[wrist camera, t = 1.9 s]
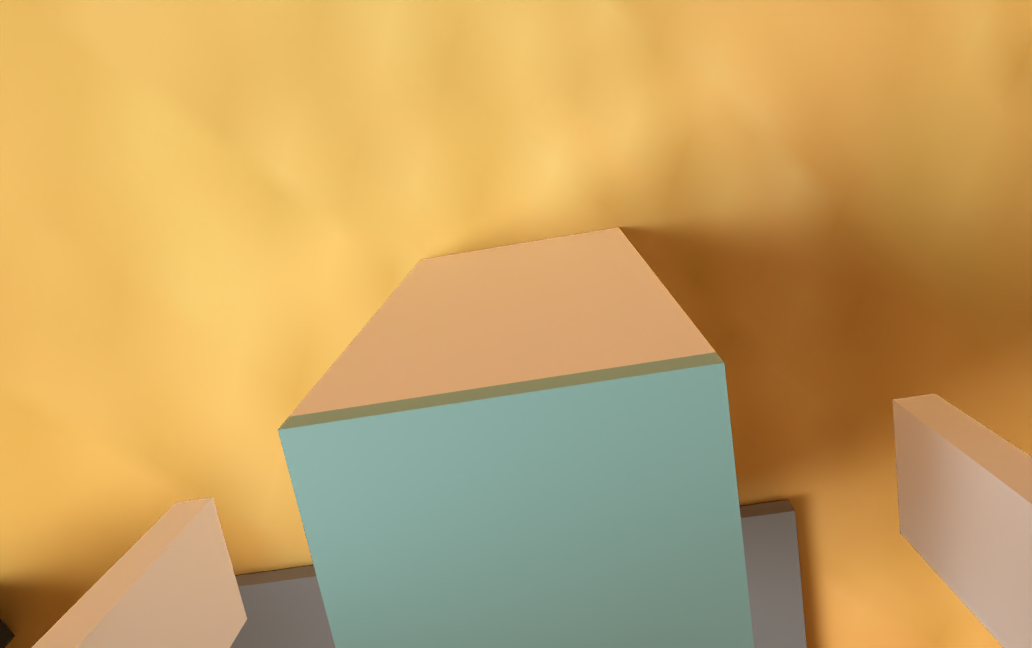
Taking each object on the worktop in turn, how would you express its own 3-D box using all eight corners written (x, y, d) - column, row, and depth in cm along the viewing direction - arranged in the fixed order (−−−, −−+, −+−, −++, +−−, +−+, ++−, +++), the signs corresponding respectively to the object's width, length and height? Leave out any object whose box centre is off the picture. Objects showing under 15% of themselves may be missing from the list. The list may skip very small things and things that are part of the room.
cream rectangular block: (420, 259, 19) (277, 429, 9) (618, 227, 19) (724, 362, 8) (477, 541, 21) (418, 962, 11) (657, 516, 21) (784, 925, 10)
